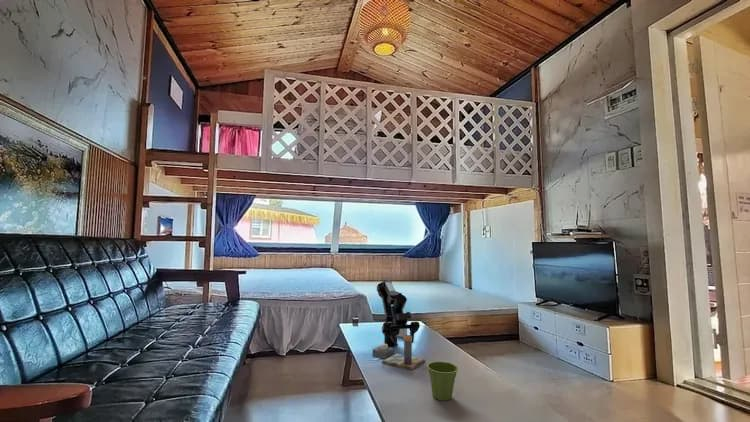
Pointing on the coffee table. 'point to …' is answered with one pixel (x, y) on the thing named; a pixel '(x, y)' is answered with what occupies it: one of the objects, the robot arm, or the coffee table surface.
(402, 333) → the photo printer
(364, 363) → the coffee table surface
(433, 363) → the plant pot
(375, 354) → the button housing
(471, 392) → the coffee table surface
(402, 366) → the picture board
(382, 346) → the button
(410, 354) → the marker
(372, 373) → the coffee table surface
